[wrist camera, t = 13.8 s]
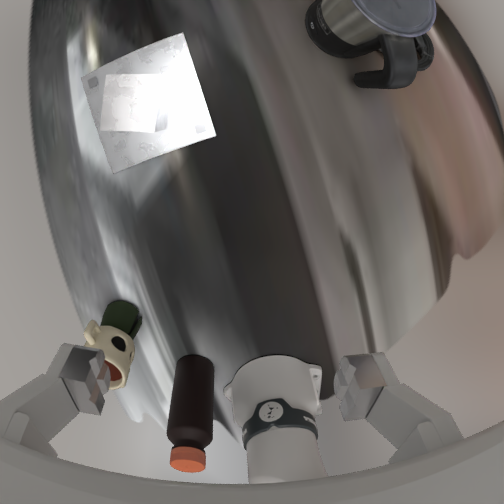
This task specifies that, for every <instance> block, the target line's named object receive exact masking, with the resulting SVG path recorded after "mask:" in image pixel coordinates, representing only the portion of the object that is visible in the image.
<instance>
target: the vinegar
mask: <svg viewBox="0 0 504 504" xmlns="http://www.w3.org/2000/svg"><path fill="white" fill-rule="evenodd" d="M213 398H214V366H213V364H212V363H211V362H210V361H209V360H208V359H206V358H204V357H201V356H197V355H190V356H185V357H183V358H181V359H180V360H179V361H178V363H177V366H176V371H175V378H174V384H173V391H172V397H171V404H170V411H169V419H168V426H167V436H168V439H169V440H170V441H171V442H172V443H173V444H174V447H172V450H171V457H170V465H171V466H172V467H173V468H174V469H177V470H179V471H183V472H200V471H202V470H204V469H205V465H206V456H205V451H204V448H205V447H206V446H208V445H209V444H210V443H211V441H212V439H213Z"/></svg>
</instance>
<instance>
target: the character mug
mask: <svg viewBox="0 0 504 504" xmlns="http://www.w3.org/2000/svg"><path fill="white" fill-rule="evenodd" d="M138 312H139V311H138V309H137V308H135V307H134V306H133V305H132V304H130V303H127V302H125V301H118V302H113V303H111V304H109V305H108V306H107V308H106V310H105V312H104V315H103V318H102V322H101V326H100V327H99V326H98V324H97V322H96V321H95V320H91V321H90V322H89V323H88V325H87V327H86V329H85V331H84V336H85V338H86V340H87V341H86V343H85V345H84V347H90V348H96V349H101V350H103V352H104V355H105V360H104V363H105V364H107V365H108V367H109V370H110V376H111V379H110V387H109V390H115V389H119V388H124V387H125V385H126V382H127V378H128V374H129V372H130V365H131V363H132V361H133V358H134V354H135V347H134V342H133V339H134V337H135V336H136V334H137V332H138V330H139V328H140V326H141V324H142V317H140V319H139V321H138V320H137V314H138Z"/></svg>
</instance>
